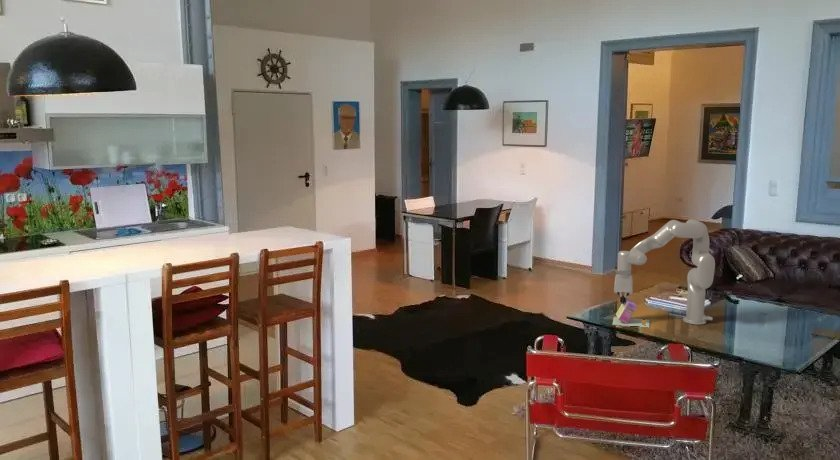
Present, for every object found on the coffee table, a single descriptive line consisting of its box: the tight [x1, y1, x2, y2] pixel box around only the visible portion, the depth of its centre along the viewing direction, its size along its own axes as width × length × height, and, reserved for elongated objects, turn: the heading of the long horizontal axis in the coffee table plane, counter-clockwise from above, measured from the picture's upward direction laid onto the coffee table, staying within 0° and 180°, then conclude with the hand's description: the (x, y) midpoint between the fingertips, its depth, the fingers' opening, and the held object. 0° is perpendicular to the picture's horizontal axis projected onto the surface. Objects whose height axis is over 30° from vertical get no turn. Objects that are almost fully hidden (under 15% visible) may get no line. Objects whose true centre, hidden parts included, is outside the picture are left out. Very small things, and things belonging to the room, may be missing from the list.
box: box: [615, 297, 638, 324], centre depth 389 cm, size 10×6×12 cm, turn 172°
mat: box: [612, 316, 650, 329], centre depth 389 cm, size 20×14×1 cm
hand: (622, 303), depth 389 cm, fingers closed
